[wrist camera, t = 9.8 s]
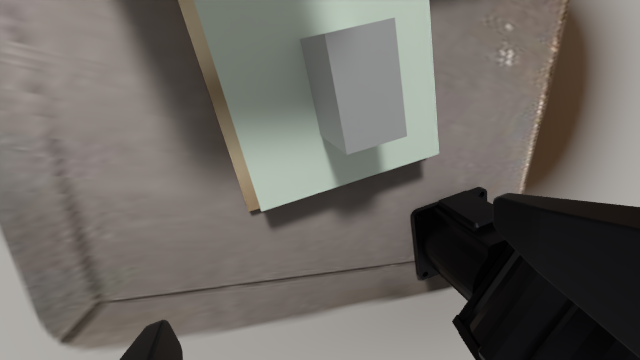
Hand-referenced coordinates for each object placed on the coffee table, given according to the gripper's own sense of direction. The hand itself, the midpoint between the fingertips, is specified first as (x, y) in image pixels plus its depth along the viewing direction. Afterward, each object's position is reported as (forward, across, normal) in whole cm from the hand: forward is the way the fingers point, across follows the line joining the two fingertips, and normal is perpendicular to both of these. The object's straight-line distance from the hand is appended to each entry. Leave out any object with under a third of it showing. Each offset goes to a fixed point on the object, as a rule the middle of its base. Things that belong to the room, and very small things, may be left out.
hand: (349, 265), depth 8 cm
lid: (+12, -4, -3) cm, 13 cm away
